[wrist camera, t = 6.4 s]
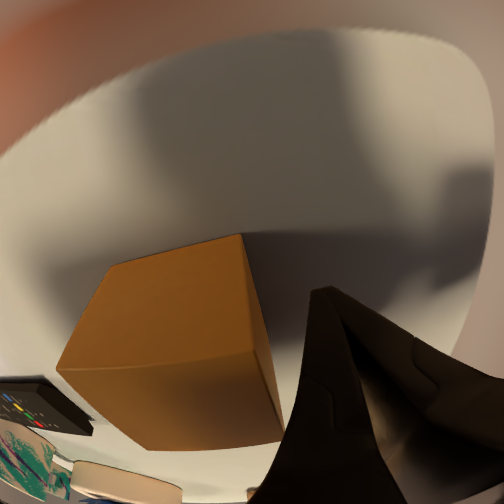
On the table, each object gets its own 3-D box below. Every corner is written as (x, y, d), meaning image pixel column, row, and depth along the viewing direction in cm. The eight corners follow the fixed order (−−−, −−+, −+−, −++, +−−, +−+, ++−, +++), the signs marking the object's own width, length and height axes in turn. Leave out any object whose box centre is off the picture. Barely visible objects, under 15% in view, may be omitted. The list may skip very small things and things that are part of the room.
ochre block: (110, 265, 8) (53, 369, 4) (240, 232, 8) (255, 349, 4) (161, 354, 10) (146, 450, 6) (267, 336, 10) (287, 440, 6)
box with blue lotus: (45, 491, 14) (133, 523, 24) (135, 521, 13) (214, 532, 23) (53, 453, 20) (134, 493, 30) (138, 468, 19) (212, 498, 29)
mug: (20, 421, 15) (5, 482, 8) (87, 465, 21) (82, 516, 14) (-9, 412, 15) (-24, 463, 8) (51, 456, 21) (44, 500, 14)
